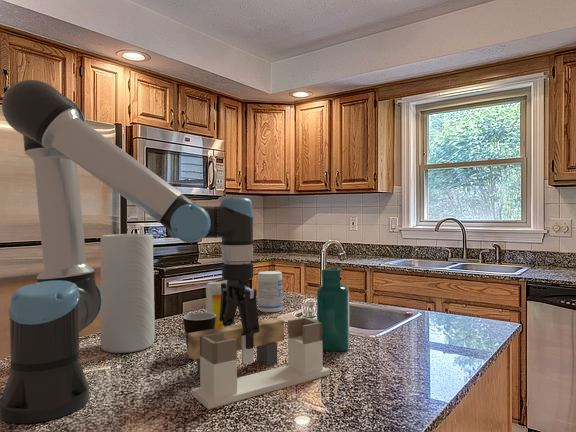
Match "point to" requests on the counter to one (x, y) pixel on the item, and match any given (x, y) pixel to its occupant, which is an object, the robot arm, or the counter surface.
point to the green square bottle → (333, 311)
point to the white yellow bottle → (214, 301)
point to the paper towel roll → (127, 292)
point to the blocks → (259, 355)
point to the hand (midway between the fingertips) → (238, 356)
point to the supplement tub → (270, 291)
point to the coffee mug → (198, 323)
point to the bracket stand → (228, 388)
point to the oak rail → (267, 334)
